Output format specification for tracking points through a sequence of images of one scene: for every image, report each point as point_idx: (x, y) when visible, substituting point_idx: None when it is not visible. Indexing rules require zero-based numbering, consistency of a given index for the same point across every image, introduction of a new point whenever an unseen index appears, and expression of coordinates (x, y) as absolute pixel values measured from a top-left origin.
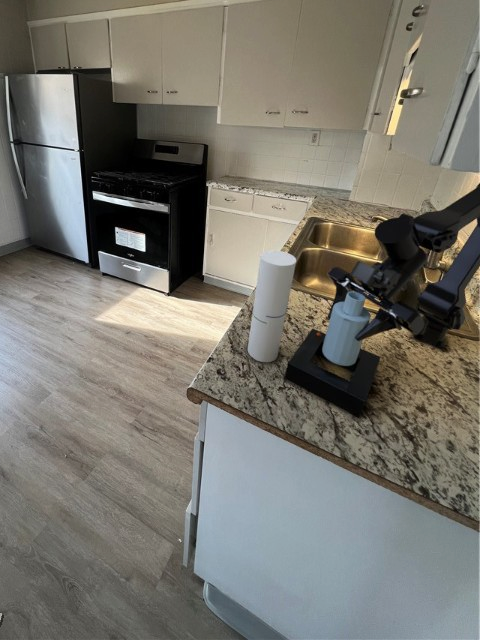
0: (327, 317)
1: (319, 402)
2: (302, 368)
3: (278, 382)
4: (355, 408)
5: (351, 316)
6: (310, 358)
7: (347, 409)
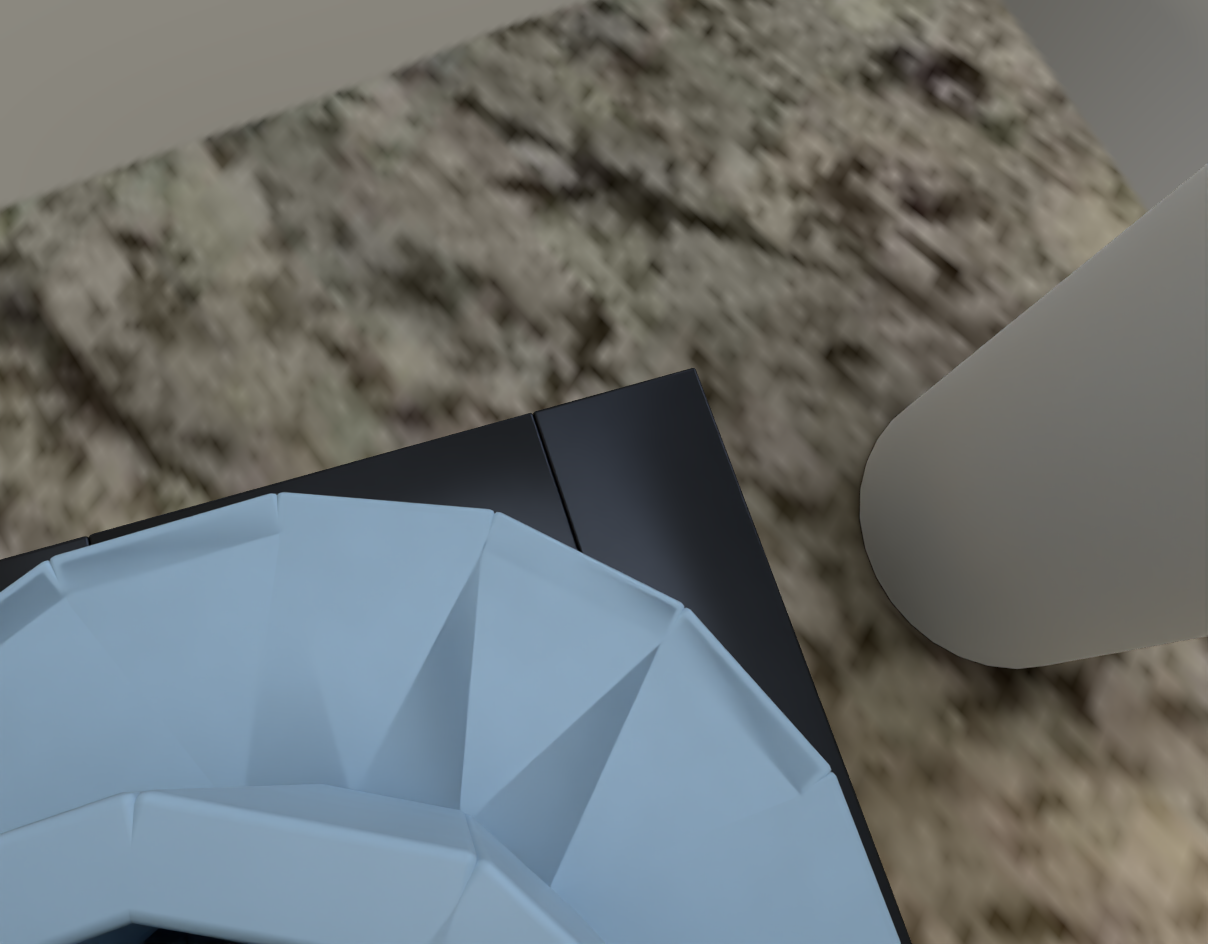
0: None
1: None
2: (560, 428)
3: (649, 361)
4: None
5: (150, 778)
6: None
7: None
